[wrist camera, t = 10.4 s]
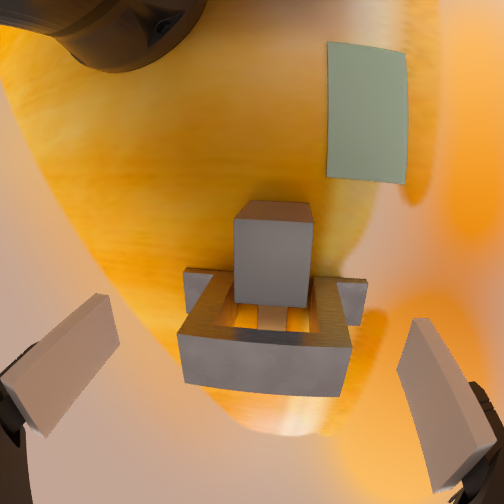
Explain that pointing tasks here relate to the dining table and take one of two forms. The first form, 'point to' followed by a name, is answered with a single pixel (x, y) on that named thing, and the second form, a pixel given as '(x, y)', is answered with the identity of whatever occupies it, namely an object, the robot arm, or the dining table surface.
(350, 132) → the pad
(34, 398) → the robot arm
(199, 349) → the housing
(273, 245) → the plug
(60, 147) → the dining table surface
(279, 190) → the dining table surface
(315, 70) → the dining table surface
